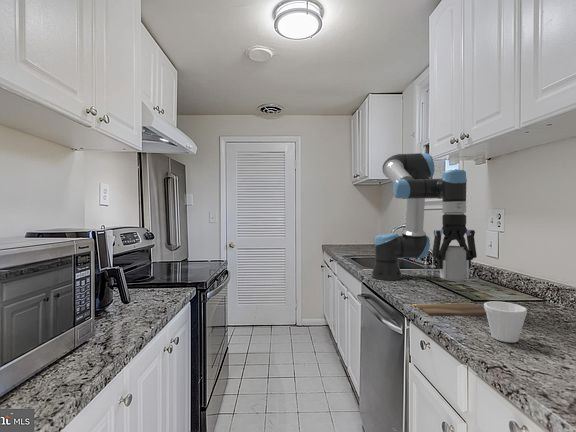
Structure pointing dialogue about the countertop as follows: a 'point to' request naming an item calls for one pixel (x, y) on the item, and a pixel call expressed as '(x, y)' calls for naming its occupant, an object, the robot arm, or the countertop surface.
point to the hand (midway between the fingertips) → (454, 277)
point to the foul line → (462, 303)
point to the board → (452, 309)
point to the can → (455, 263)
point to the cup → (505, 320)
